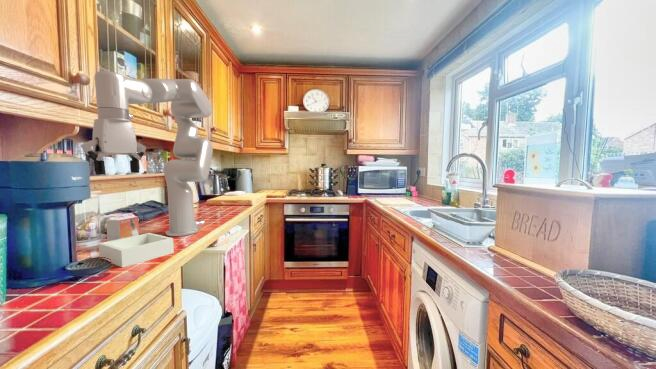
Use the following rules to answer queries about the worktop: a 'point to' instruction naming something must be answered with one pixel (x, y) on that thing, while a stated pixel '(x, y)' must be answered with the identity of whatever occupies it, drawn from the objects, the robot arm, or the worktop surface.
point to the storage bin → (136, 249)
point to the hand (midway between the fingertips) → (118, 173)
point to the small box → (122, 227)
